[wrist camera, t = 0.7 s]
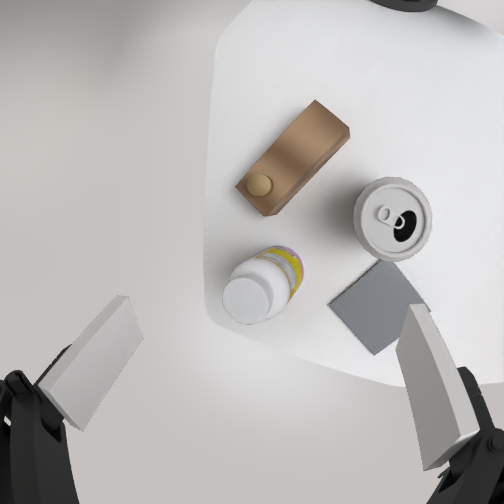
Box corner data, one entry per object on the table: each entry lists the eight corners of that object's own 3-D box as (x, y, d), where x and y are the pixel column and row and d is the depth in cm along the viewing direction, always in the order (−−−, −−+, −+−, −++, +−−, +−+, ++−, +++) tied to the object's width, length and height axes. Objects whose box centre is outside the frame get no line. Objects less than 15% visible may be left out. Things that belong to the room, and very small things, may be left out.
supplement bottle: (267, 298, 39) (227, 339, 27) (250, 254, 38) (202, 278, 26) (312, 285, 36) (288, 326, 24) (295, 238, 36) (262, 258, 24)
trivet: (386, 254, 31) (387, 255, 31) (429, 309, 30) (431, 311, 29) (330, 303, 35) (329, 306, 35) (373, 352, 34) (374, 355, 33)
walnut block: (321, 112, 31) (312, 93, 25) (350, 137, 30) (348, 122, 24) (250, 188, 37) (227, 186, 30) (276, 214, 36) (258, 217, 29)
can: (393, 255, 31) (410, 282, 20) (343, 225, 33) (337, 238, 22) (420, 202, 29) (451, 204, 18) (369, 172, 31) (376, 158, 20)
